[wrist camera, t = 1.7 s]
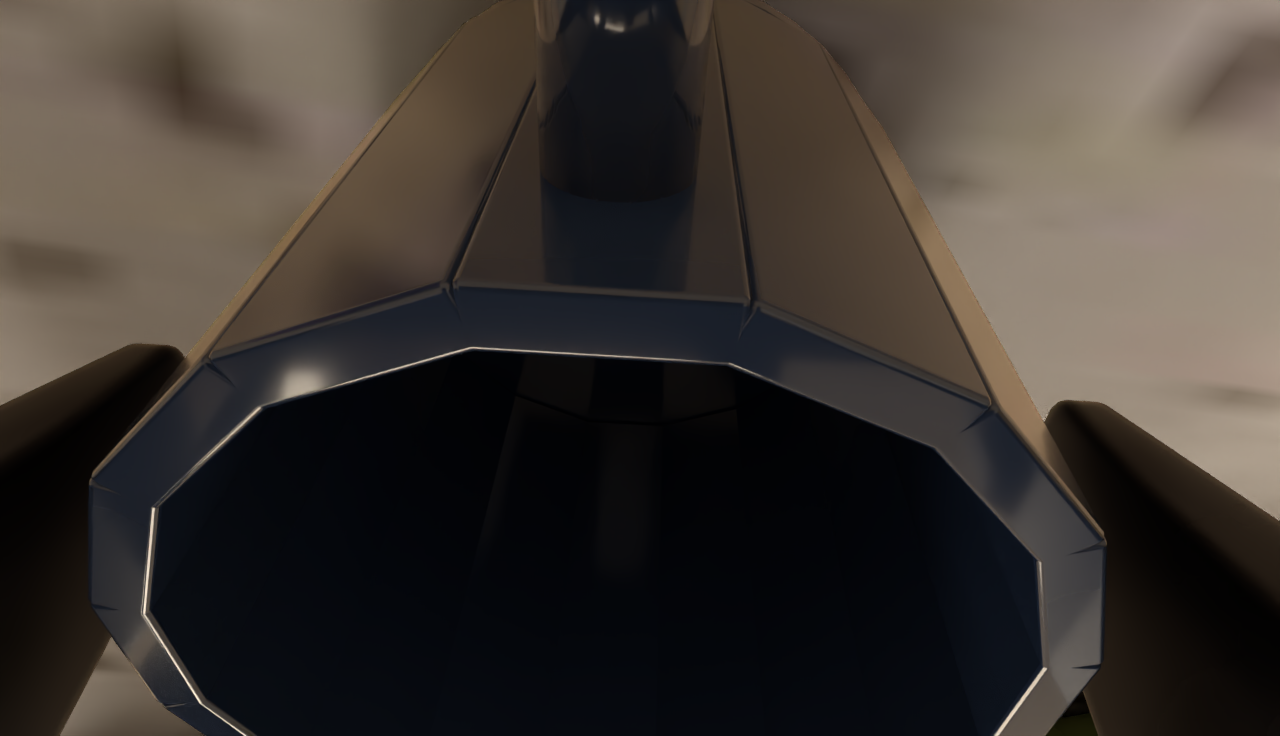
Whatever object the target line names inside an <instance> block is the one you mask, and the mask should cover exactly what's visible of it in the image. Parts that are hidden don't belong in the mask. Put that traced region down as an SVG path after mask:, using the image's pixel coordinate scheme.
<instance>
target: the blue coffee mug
mask: <svg viewBox="0 0 1280 736" xmlns="http://www.w3.org/2000/svg"><path fill="white" fill-rule="evenodd" d="M1106 569H1107V540H1106V538H1105V537H1104V531H1103V529H1102V527H1101V526H1100V524H1099V522H1098V520H1097V518H1096V516H1095V515H1094V513H1093V511H1092V509H1091V507H1090V505H1089V504H1088V502H1087V500H1086V498H1085V496H1084V494H1083V493H1082V491H1081V489H1080V487H1079V485H1078V483H1077V482H1076V480H1075V478H1074V476H1073V474H1072V472H1071V471H1070V469H1069V467H1068V465H1067V463H1066V462H1065V460H1064V458H1063V456H1062V454H1061V452H1060V451H1059V449H1058V447H1057V445H1056V443H1055V441H1054V440H1053V438H1052V436H1051V434H1050V432H1049V430H1048V429H1047V427H1046V425H1045V423H1044V421H1043V419H1042V418H1041V416H1040V414H1039V412H1038V410H1037V408H1036V407H1035V405H1034V403H1033V401H1032V399H1031V398H1030V396H1029V394H1028V392H1027V390H1026V388H1025V387H1024V385H1023V383H1022V381H1021V379H1020V377H1019V376H1018V374H1017V372H1016V370H1015V368H1014V366H1013V365H1012V363H1011V361H1010V359H1009V357H1008V355H1007V354H1006V352H1005V350H1004V348H1003V346H1002V344H1001V343H1000V341H999V339H998V337H997V335H996V334H995V332H994V330H993V328H992V326H991V324H990V323H989V321H988V319H987V317H986V315H985V313H984V312H983V310H982V308H981V306H980V304H979V302H978V301H977V299H976V297H975V295H974V293H973V291H972V290H971V288H970V286H969V284H968V282H967V280H966V279H965V277H964V275H963V273H962V271H961V270H960V268H959V266H958V264H957V262H956V260H955V259H954V257H953V255H952V253H951V251H950V249H949V248H948V246H947V244H946V242H945V240H944V238H943V237H942V235H941V233H940V231H939V229H938V227H937V226H936V224H935V222H934V220H933V218H932V216H931V215H930V213H929V211H928V209H927V207H926V206H925V204H924V202H923V200H922V198H921V196H920V195H919V193H918V191H917V189H916V187H915V185H914V184H913V182H912V180H911V178H910V176H909V174H908V173H907V171H906V169H905V167H904V165H903V163H902V162H901V160H900V158H899V156H898V154H897V152H896V151H895V149H894V147H893V145H892V143H891V142H890V140H889V138H888V136H887V134H886V132H885V131H884V129H883V127H882V126H881V125H880V123H879V122H878V120H877V119H876V118H875V116H874V115H873V114H872V112H871V111H870V109H869V108H868V107H867V105H866V104H865V103H864V101H863V100H862V98H861V97H860V95H859V93H858V92H857V90H856V89H855V87H854V85H853V84H852V82H851V80H850V79H849V77H848V76H847V74H846V73H845V71H844V70H843V69H842V68H841V67H840V66H839V64H838V63H837V62H836V61H835V60H834V59H833V57H832V56H831V55H830V54H829V53H828V51H827V50H826V49H825V47H824V46H823V45H822V44H820V43H819V42H818V41H817V40H816V39H815V38H813V37H812V36H811V35H810V34H809V33H807V32H806V31H805V30H804V29H803V28H802V27H801V26H799V25H798V24H797V23H796V22H795V21H793V20H792V19H790V18H789V17H787V16H785V15H784V14H782V13H781V12H779V11H778V10H776V9H774V8H773V7H771V6H770V5H768V4H767V3H765V2H764V1H762V0H501V1H499V2H497V3H495V4H494V5H492V6H491V7H490V8H488V9H487V10H485V11H484V12H482V13H481V14H480V15H478V16H475V17H473V18H471V19H470V20H469V21H468V22H465V23H463V24H462V26H461V27H460V28H459V29H458V30H457V31H456V32H455V33H454V35H453V36H452V37H451V38H450V39H449V40H448V41H447V42H446V43H445V44H444V45H443V46H442V47H441V48H440V49H439V50H438V51H437V52H436V54H435V55H434V56H433V57H432V59H431V60H430V61H429V62H428V63H427V65H426V66H425V67H424V68H423V69H422V70H421V71H420V72H419V74H418V75H417V76H416V77H415V78H414V79H413V80H412V81H411V82H410V84H409V85H408V86H407V87H406V88H405V89H404V90H403V91H402V92H401V94H400V95H399V96H398V97H397V98H396V99H395V100H394V102H393V103H392V104H391V105H390V107H389V108H388V109H387V110H386V111H385V113H384V114H383V115H382V116H381V118H380V119H379V120H378V121H377V122H376V124H375V125H374V126H373V127H372V129H371V130H370V131H369V132H368V134H367V135H366V136H365V137H364V138H363V140H362V141H361V142H360V143H359V145H358V146H357V147H356V148H355V149H354V151H353V152H352V153H351V154H350V156H349V157H348V158H347V159H346V161H345V162H344V163H343V164H342V165H341V167H340V168H339V169H338V170H337V172H336V173H335V174H334V175H333V177H332V178H331V179H330V180H329V181H328V183H327V184H326V185H325V186H324V188H323V189H322V190H321V191H320V192H319V194H318V195H317V196H316V197H315V199H314V200H313V201H312V202H311V204H310V205H309V206H308V207H307V208H306V210H305V211H304V212H303V213H302V215H301V216H300V217H299V218H298V219H297V221H296V222H295V223H294V224H293V226H292V227H291V228H290V229H289V231H288V232H287V233H286V234H285V235H284V237H283V238H282V239H281V240H280V242H279V243H278V244H277V245H276V247H275V248H274V249H273V250H272V251H271V253H270V254H269V255H268V256H267V258H266V259H265V260H264V261H263V262H262V264H261V265H260V266H259V267H258V269H257V270H256V271H255V272H254V274H253V275H252V276H251V277H250V278H249V280H248V281H247V282H246V283H245V285H244V286H243V287H242V288H241V289H240V291H239V292H238V293H237V294H236V296H235V297H234V298H233V299H232V301H231V302H230V303H229V304H228V305H227V307H226V308H225V309H224V310H223V312H222V313H221V314H220V315H219V316H218V318H217V319H216V320H215V321H214V323H213V324H212V325H211V326H210V328H209V329H208V330H207V331H206V332H205V334H204V335H203V336H202V337H201V339H200V340H199V341H198V342H197V344H196V345H195V346H194V347H193V348H192V350H191V351H190V352H189V353H188V355H187V356H186V357H185V358H184V359H183V361H182V362H181V363H180V364H179V366H178V367H177V368H176V369H175V371H174V372H173V373H172V374H171V375H170V377H169V378H168V379H167V380H166V382H165V383H164V384H163V385H162V386H161V388H160V389H159V390H158V391H157V393H156V394H155V395H154V396H153V398H152V399H151V400H150V401H149V402H148V404H147V405H146V406H145V407H144V409H143V410H142V411H141V412H140V413H139V415H138V416H137V417H136V418H135V420H134V421H133V422H132V423H131V425H130V426H129V427H128V428H127V429H126V431H125V432H124V433H123V434H122V436H121V437H120V438H119V439H118V441H117V442H116V443H115V444H114V445H113V447H112V448H111V449H110V450H109V452H108V453H107V454H106V455H105V456H104V458H103V459H102V460H101V461H100V463H99V464H98V465H97V466H96V468H95V469H94V470H93V473H92V477H91V479H90V480H89V485H88V600H89V601H90V602H91V608H92V610H93V611H94V613H95V614H96V615H97V617H98V618H99V620H100V621H101V623H102V624H103V625H104V627H105V628H106V630H107V631H108V632H109V634H110V635H111V637H112V638H113V639H114V641H115V642H116V644H117V645H118V647H119V648H120V649H121V651H122V652H123V654H124V655H125V656H126V658H127V659H128V661H129V662H130V663H131V665H132V666H133V668H134V669H135V671H136V672H137V673H138V675H139V676H140V678H141V679H142V680H143V682H144V683H145V685H146V686H147V687H148V689H149V690H150V692H151V693H152V695H153V696H154V697H155V699H156V700H157V701H158V702H160V703H162V705H163V707H164V708H166V709H167V710H169V711H170V712H172V713H173V714H175V715H176V716H178V717H179V718H181V719H182V720H184V721H185V722H186V723H188V724H189V725H191V726H192V727H194V728H195V729H197V730H198V731H200V732H201V733H203V734H204V735H205V736H1046V735H1047V734H1048V733H1049V732H1050V730H1051V729H1052V728H1053V727H1054V725H1055V724H1056V723H1057V722H1058V720H1059V719H1060V718H1061V717H1062V716H1063V714H1064V713H1065V712H1066V711H1067V709H1068V708H1069V707H1070V706H1071V704H1072V703H1073V702H1074V701H1075V700H1076V698H1077V697H1078V696H1079V695H1080V693H1081V692H1082V691H1083V690H1084V688H1085V687H1086V686H1087V685H1088V684H1089V682H1090V681H1091V680H1092V679H1093V677H1094V676H1095V675H1096V674H1097V672H1098V671H1099V670H1100V669H1101V663H1102V662H1103V661H1104V636H1105V602H1106Z"/></svg>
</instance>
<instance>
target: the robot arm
mask: <svg viewBox="0 0 1280 736" xmlns="http://www.w3.org/2000/svg"><path fill="white" fill-rule="evenodd" d="M183 359H184V356H183V354H182V353H181V352H180V351H179V350H178V349H177V348H175V347H173V346H170V345H159V344H142V343H138V344H130V345H127V346H125V347H123V348H121V349H119V350H117V351H114V352H112V353H110V354H108V355H106V356H104V357H102V358H100V359H98V360H95V361H93V362H91V363H89V364H87V365H85V366H83V367H81V368H79V369H76V370H74V371H72V372H70V373H68V374H66V375H64V376H62V377H60V378H57V379H55V380H53V381H51V382H49V383H47V384H45V385H43V386H41V387H39V388H36V389H34V390H32V391H30V392H28V393H26V394H24V395H22V396H20V397H17V398H15V399H13V400H11V401H9V402H7V403H5V404H3V405H1V406H0V736H60V734H61V732H62V730H63V728H64V726H65V724H66V722H67V721H68V719H69V717H70V715H71V713H72V711H73V709H74V707H75V705H76V703H77V701H78V700H79V698H80V696H81V694H82V692H83V690H84V688H85V686H86V684H87V682H88V680H89V679H90V677H91V675H92V673H93V671H94V669H95V667H96V665H97V663H98V661H99V659H100V657H101V656H102V654H103V652H104V650H105V648H106V646H107V644H108V642H109V640H110V638H111V635H110V634H109V632H108V631H107V630H106V628H105V627H104V625H103V624H102V623H101V621H100V620H99V618H98V617H97V615H96V614H95V613H94V611H93V610H92V608H91V602H90V601H89V600H88V485H89V480H90V479H91V477H92V473H93V470H94V469H95V468H96V466H97V465H98V464H99V463H100V461H101V460H102V459H103V458H104V456H105V455H106V454H107V453H108V452H109V450H110V449H111V448H112V447H113V445H114V444H115V443H116V442H117V441H118V439H119V438H120V437H121V436H122V434H123V433H124V432H125V431H126V429H127V428H128V427H129V426H130V425H131V423H132V422H133V421H134V420H135V418H136V417H137V416H138V415H139V413H140V412H141V411H142V410H143V409H144V407H145V406H146V405H147V404H148V402H149V401H150V400H151V399H152V398H153V396H154V395H155V394H156V393H157V391H158V390H159V389H160V388H161V386H162V385H163V384H164V383H165V382H166V380H167V379H168V378H169V377H170V375H171V374H172V373H173V372H174V371H175V369H176V368H177V367H178V366H179V364H180V363H181V362H182V361H183ZM1044 423H1045V425H1046V427H1047V429H1048V430H1049V432H1050V434H1051V436H1052V438H1053V440H1054V441H1055V443H1056V445H1057V447H1058V449H1059V451H1060V452H1061V454H1062V456H1063V458H1064V460H1065V462H1066V463H1067V465H1068V467H1069V469H1070V471H1071V472H1072V474H1073V476H1074V478H1075V480H1076V482H1077V483H1078V485H1079V487H1080V489H1081V491H1082V493H1083V494H1084V496H1085V498H1086V500H1087V502H1088V504H1089V505H1090V507H1091V509H1092V511H1093V513H1094V515H1095V516H1096V518H1097V520H1098V522H1099V524H1100V526H1101V527H1102V529H1103V531H1104V537H1105V538H1106V540H1107V569H1106V602H1105V636H1104V661H1103V662H1102V663H1101V669H1100V670H1099V671H1098V672H1097V674H1096V675H1095V676H1094V677H1093V679H1092V680H1091V681H1090V682H1089V684H1088V685H1087V686H1086V687H1085V688H1084V690H1083V693H1084V696H1085V699H1086V702H1087V705H1088V708H1089V710H1090V713H1091V716H1092V719H1093V722H1094V725H1095V728H1096V731H1097V733H1098V736H1280V521H1278V520H1277V519H1275V518H1274V517H1272V516H1271V515H1269V514H1268V513H1266V512H1265V511H1263V510H1262V509H1260V508H1259V507H1257V506H1256V505H1255V504H1253V503H1252V502H1250V501H1249V500H1247V499H1246V498H1244V497H1243V496H1241V495H1240V494H1238V493H1237V492H1235V491H1234V490H1232V489H1231V488H1229V487H1228V486H1226V485H1225V484H1223V483H1222V482H1220V481H1219V480H1217V479H1216V478H1214V477H1213V476H1211V475H1210V474H1208V473H1207V472H1205V471H1204V470H1202V469H1201V468H1199V467H1198V466H1196V465H1195V464H1193V463H1192V462H1190V461H1189V460H1187V459H1186V458H1184V457H1183V456H1181V455H1180V454H1179V453H1177V452H1176V451H1174V450H1173V449H1171V448H1170V447H1168V446H1167V445H1165V444H1164V443H1162V442H1161V441H1159V440H1158V439H1156V438H1155V437H1153V436H1152V435H1150V434H1149V433H1147V432H1146V431H1144V430H1143V429H1141V428H1140V427H1138V426H1137V425H1135V424H1134V423H1132V422H1131V421H1129V420H1128V419H1126V418H1125V417H1123V416H1122V415H1120V414H1119V413H1117V412H1116V411H1114V410H1113V409H1111V408H1110V407H1108V406H1107V405H1105V404H1102V403H1099V402H1091V401H1074V400H1064V401H1060V402H1058V403H1057V404H1056V405H1054V406H1053V407H1052V409H1051V410H1050V412H1049V414H1048V416H1047V418H1046V420H1045V421H1044Z"/></svg>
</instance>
